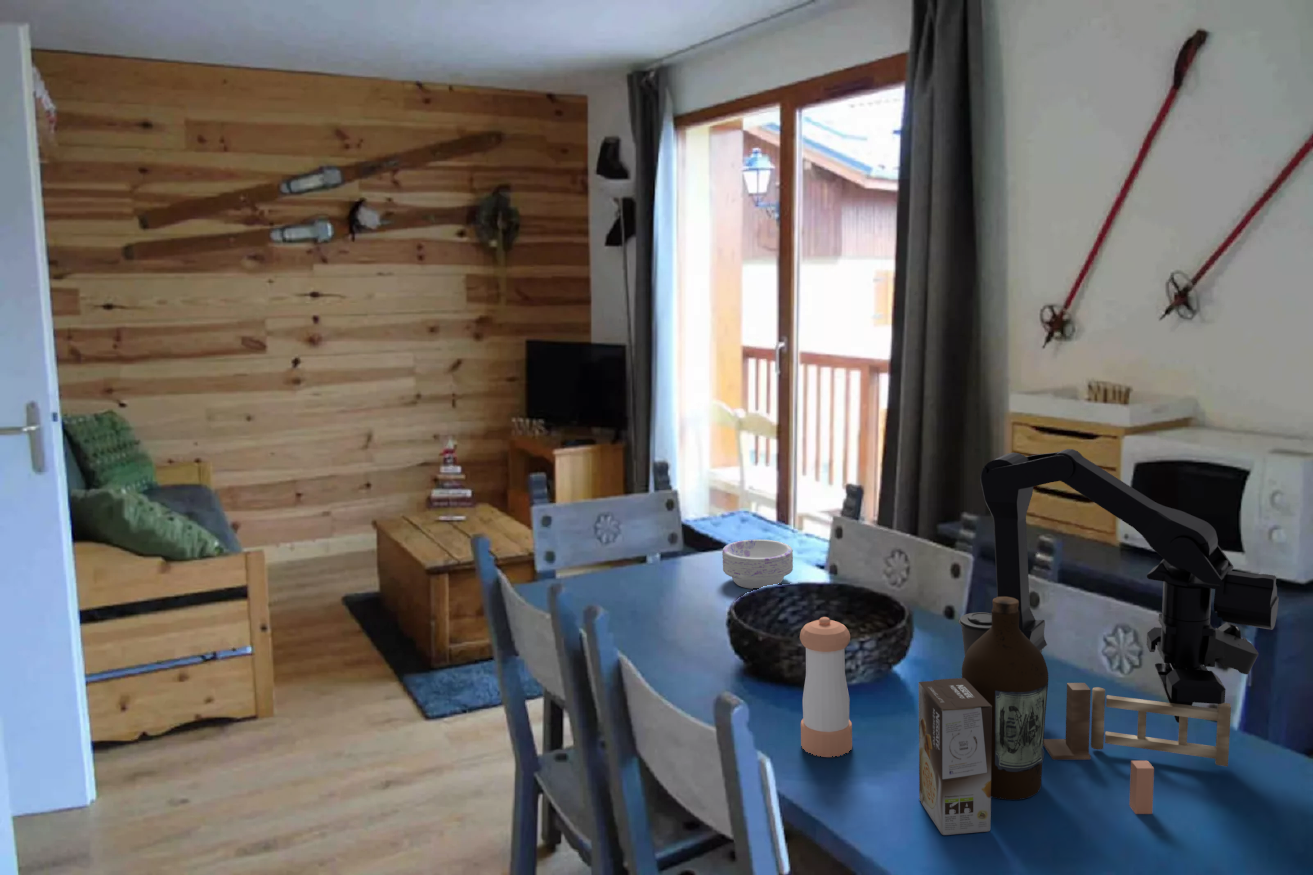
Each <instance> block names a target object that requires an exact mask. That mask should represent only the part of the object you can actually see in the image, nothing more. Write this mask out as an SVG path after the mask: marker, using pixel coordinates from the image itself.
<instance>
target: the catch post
mask: <svg viewBox="0 0 1313 875" xmlns="http://www.w3.org/2000/svg"><path fill="white" fill-rule="evenodd" d="M1154 777H1155V768H1154V766H1152V764H1151V763H1150V762H1149V761H1148V760H1130V777H1129V778H1130V779H1129V805H1128V806H1129V807H1130V808H1131V810H1132V811H1133V812H1134V814H1135V815H1153V809H1154V808H1153V805H1154V802H1153V801H1154V784H1155V783H1154V781H1155V780H1154Z"/></svg>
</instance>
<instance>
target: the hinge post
mask: <svg viewBox="0 0 1313 875" xmlns="http://www.w3.org/2000/svg"><path fill="white" fill-rule="evenodd" d="M1091 692H1092V691H1091V688H1090V687H1089V685H1087V684H1086V682H1067V683H1066V701H1065V702H1066V707H1065V708H1066V711H1065V712H1066V713H1065V738H1044V742H1043V748H1045V750H1046V752H1047V753H1048V754H1049V756H1050V758H1051V759H1052V760H1057V761H1059V760H1062V761H1063V760H1069V761H1070V760H1074V761H1079V760H1081V761H1082V760H1083V761H1084V760H1085V761H1086V760H1091V754H1090V730H1091V729H1090V725H1091V723H1090V722H1091V721H1090V720H1091V719H1090V717H1091V695H1092V694H1091Z"/></svg>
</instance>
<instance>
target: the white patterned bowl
mask: <svg viewBox="0 0 1313 875" xmlns="http://www.w3.org/2000/svg"><path fill="white" fill-rule="evenodd" d="M793 551H794V549H793V548H792V547H791V545H790V544H787V543H785V542H781V541H777V540H771V539H744V540H739V541H734V542H731V543H728V544H726V545H725V546H724V547H723V549H722V571H723V573H724V574H725V575H727V576H728V577H731V579H732V581H733V582H734V583H735V584H736V585H737V586H739V587H741V588H744V589H749V590H754V589H753V588H761V587H763V586H767V585H773V584H778V583H780V584H781V583H782V582H783V580H784V577H785V576H787V575H789V574H791V573H792V572H793V570H794V569H793V567H794V566H793V564H794V562H793V561H794V555H793Z"/></svg>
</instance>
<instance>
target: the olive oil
mask: <svg viewBox="0 0 1313 875" xmlns="http://www.w3.org/2000/svg"><path fill="white" fill-rule="evenodd" d="M1018 606H1019V601H1018V600H1017V599H1015V598H1012V597H997V596H996V597H994V598H993V599H992V609H991V614H992V626H991V628H990V629H989V630H988V631H987V632H986V633H985V634H983V635H982V636H981V637H980V638H979V639H978V640H977V641H975V642H974V643H973V644H972V645H971V646H970V648H969V649H968V650H967V652H966V655H965V654H964V658H963V660H962V665H961V678H965V679H966V680H967V681H968V682H969V683H970V684H971V685H972V686H973V687H974V688H975V689H976V690H977V691H978V692H979V693H980V694H981V695H982V696H983V697H984V698H985V699H986V700H987V702H988V703H989V704H990V705H991V706H992V732H991V798H992V799H993V798H994V799H998V800H1007V801H1008V800H1010V801H1014V800H1015V801H1016V800H1024V799H1028V798H1031V797H1034V796H1035V795H1036V794H1038V792H1040V790H1041V786H1042V777H1043V776H1042V775H1043V763H1044V759H1045V749H1044V745H1043V742H1044V739H1045V729H1046V728H1045V726H1046V714H1047V713H1046V711H1047V701H1048V689H1049V671H1048V670H1049V669H1048V666H1047V663H1046V660H1045V657H1044V655H1043V653H1041V652H1040V651H1039V650H1038V648H1037V647H1036V646H1035V645H1034V644H1033V643H1032V642H1031V641H1030V640H1029V639H1028V638H1027V637H1026V636H1025V635H1024V634H1023V633H1022V632H1021V630H1020V629H1019V613H1020V612H1019V610H1018Z"/></svg>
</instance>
